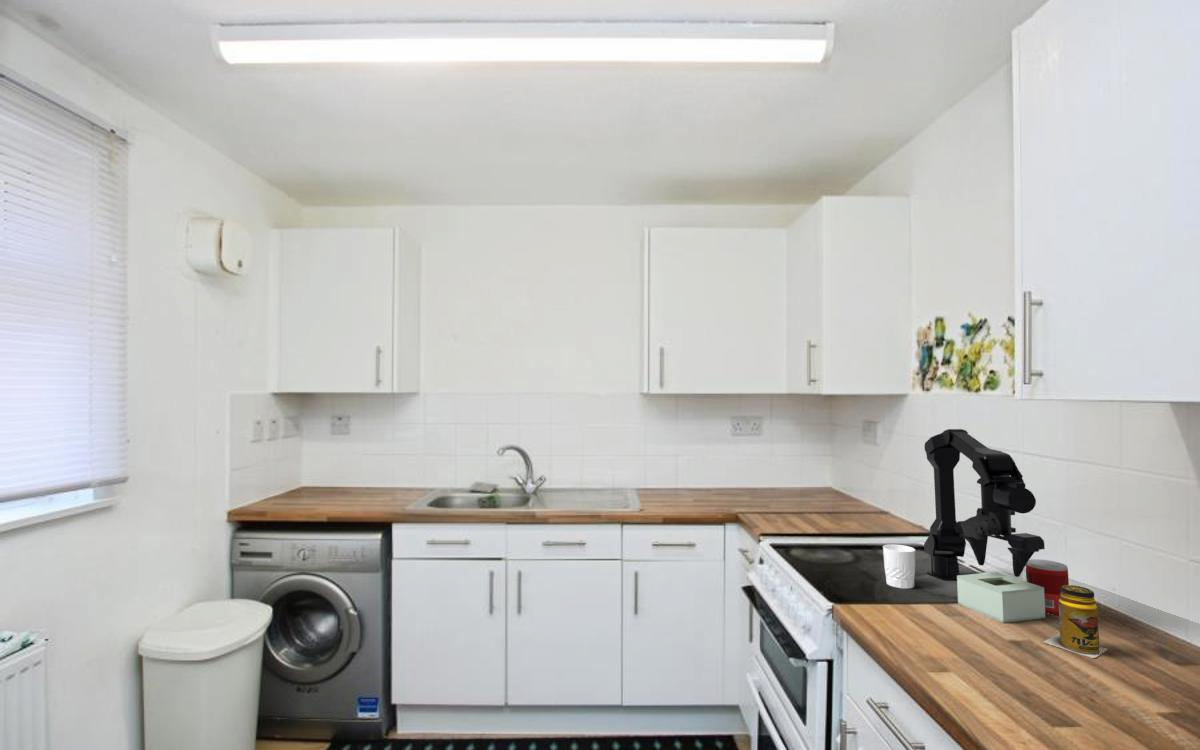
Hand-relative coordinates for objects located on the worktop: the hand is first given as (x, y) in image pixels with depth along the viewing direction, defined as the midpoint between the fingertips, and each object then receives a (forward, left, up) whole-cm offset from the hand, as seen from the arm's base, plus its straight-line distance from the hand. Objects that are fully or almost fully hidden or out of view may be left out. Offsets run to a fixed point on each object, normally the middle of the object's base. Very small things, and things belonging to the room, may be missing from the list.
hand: (998, 570), depth 132 cm
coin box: (0, 0, -10) cm, 10 cm away
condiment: (+19, -3, -10) cm, 22 cm away
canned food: (+2, +12, -10) cm, 16 cm away
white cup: (-22, -9, -10) cm, 25 cm away
